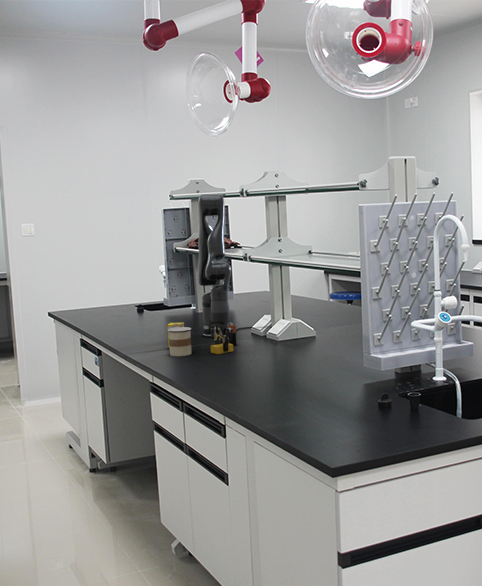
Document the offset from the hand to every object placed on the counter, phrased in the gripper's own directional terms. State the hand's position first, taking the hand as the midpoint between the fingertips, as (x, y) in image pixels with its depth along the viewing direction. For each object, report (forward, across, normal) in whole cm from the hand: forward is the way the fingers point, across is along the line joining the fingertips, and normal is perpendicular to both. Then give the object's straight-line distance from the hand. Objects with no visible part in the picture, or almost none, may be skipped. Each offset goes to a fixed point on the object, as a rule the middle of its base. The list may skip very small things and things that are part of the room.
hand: (222, 350), depth 296 cm
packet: (+1, 0, 0) cm, 1 cm away
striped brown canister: (+1, +10, +14) cm, 17 cm away
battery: (+1, +10, -10) cm, 14 cm away
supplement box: (+1, +23, +8) cm, 24 cm away
